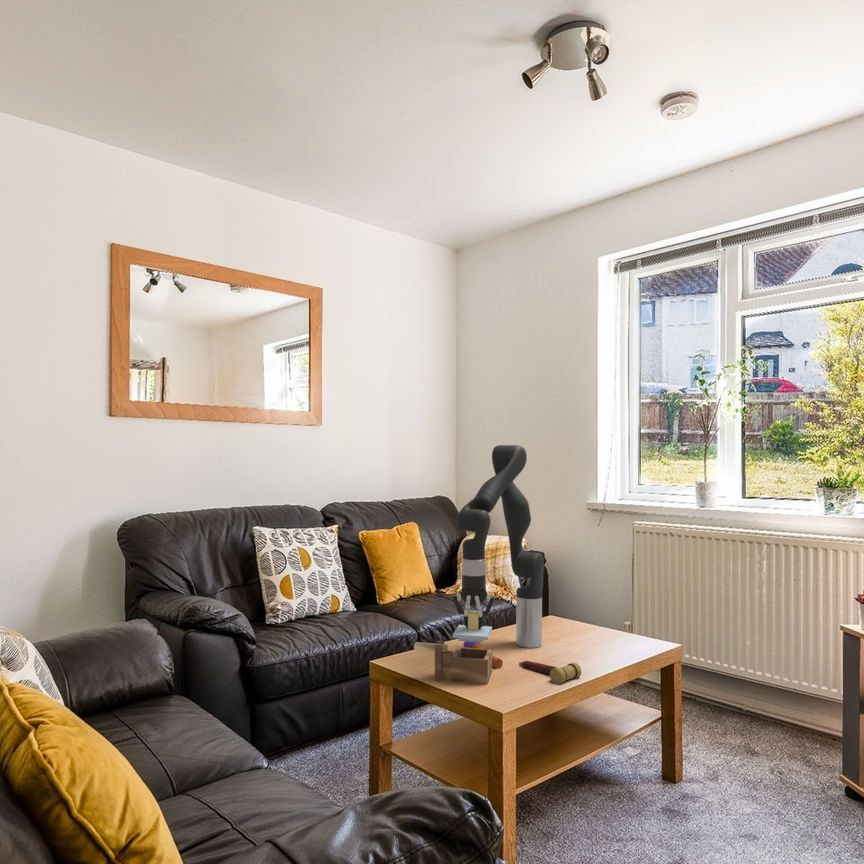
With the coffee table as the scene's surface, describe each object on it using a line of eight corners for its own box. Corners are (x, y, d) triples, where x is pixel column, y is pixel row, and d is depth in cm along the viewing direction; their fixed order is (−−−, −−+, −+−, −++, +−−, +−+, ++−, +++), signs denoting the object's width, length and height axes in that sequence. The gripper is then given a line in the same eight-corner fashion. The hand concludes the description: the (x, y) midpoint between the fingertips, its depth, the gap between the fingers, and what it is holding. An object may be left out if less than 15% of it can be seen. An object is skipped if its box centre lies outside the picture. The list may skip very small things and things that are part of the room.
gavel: (508, 658, 216) (528, 653, 223) (509, 673, 216) (529, 667, 222) (561, 670, 201) (581, 663, 207) (562, 685, 200) (582, 678, 207)
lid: (458, 631, 215) (458, 609, 215) (491, 633, 213) (491, 610, 213) (452, 641, 203) (452, 618, 204) (487, 643, 201) (487, 619, 201)
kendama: (489, 658, 214) (459, 637, 232) (491, 675, 215) (461, 654, 233) (505, 652, 217) (474, 632, 235) (507, 669, 217) (476, 648, 235)
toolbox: (442, 668, 215) (442, 634, 216) (492, 671, 212) (492, 637, 213) (434, 680, 203) (434, 645, 204) (487, 684, 200) (487, 648, 200)
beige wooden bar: (415, 648, 208) (415, 642, 209) (447, 650, 206) (447, 644, 206) (414, 650, 206) (414, 644, 206) (446, 652, 204) (446, 646, 204)
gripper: (497, 571, 213) (497, 626, 213) (453, 569, 216) (453, 623, 216) (494, 575, 206) (494, 632, 205) (449, 574, 209) (449, 629, 208)
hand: (473, 627), depth 211 cm, fingers closed on lid, 3 cm apart
